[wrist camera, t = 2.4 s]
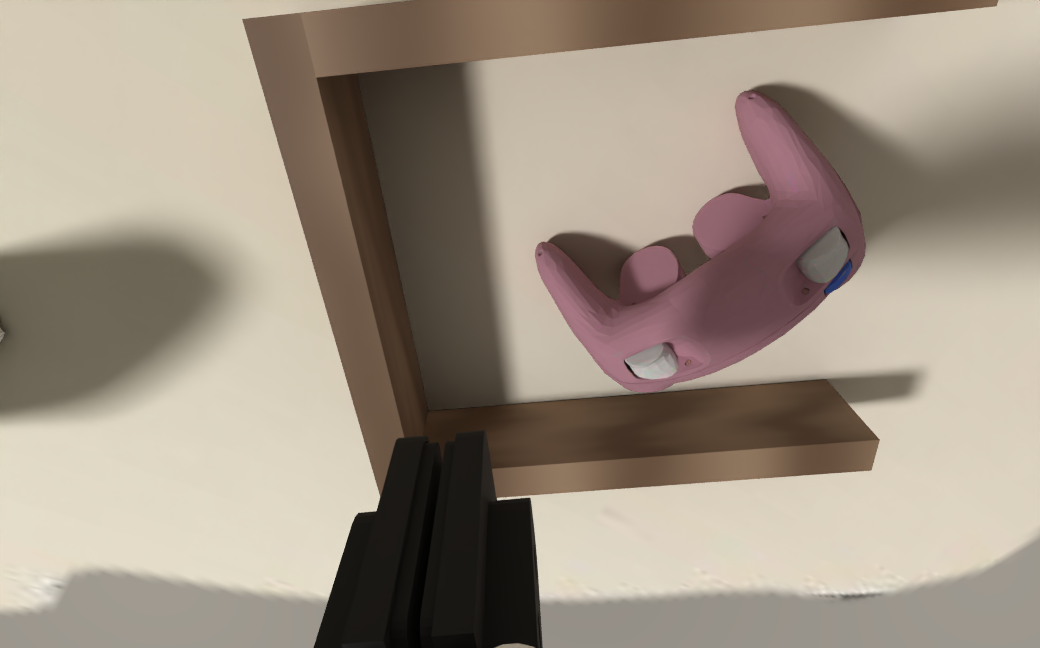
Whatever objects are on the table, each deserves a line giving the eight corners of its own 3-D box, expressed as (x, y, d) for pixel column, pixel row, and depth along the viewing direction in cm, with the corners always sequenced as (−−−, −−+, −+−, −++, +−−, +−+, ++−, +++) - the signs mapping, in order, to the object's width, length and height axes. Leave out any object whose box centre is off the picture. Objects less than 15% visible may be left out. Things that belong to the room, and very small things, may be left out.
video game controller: (574, 299, 24) (642, 438, 20) (515, 246, 21) (581, 398, 16) (784, 154, 21) (918, 278, 17) (756, 64, 18) (913, 191, 13)
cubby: (910, -46, 17) (1016, -67, 13) (820, 407, 25) (871, 470, 21) (298, 21, 18) (242, 19, 14) (401, 439, 25) (383, 505, 22)
